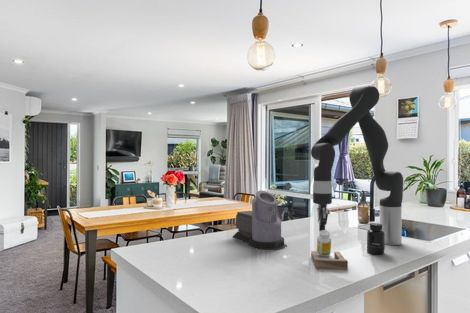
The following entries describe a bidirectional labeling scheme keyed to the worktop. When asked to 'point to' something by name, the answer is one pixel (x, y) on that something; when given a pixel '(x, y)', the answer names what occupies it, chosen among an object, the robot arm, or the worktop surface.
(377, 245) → the supplement bottle
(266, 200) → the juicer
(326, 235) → the supplement bottle
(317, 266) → the walnut U-rest
